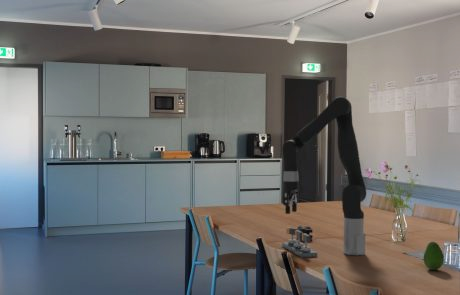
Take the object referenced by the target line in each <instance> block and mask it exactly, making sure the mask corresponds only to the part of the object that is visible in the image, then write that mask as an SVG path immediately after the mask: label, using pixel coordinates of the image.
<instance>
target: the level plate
mask: <svg viewBox="0 0 460 295" xmlns="http://www.w3.org/2000/svg"><path fill="white" fill-rule="evenodd" d="M297 243H298V241H297ZM281 247H282V248H284V249H285V250H287V249H288V250H287V251H289V250H290V251H289V252H291V253H292V252H293V254H294V253H295V254H294V255H296V256H297V255H298V257H299V258H301V259H302V258H303V259H304V258H318V252H317V251H316V250H313V249H312V248H311V251H301V248H297V247H294V244H289V243H288V241H286V242H282V243H281Z"/></svg>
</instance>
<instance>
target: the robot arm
mask: <svg viewBox="0 0 460 295" xmlns="http://www.w3.org/2000/svg"><path fill="white" fill-rule="evenodd" d="M352 112H353V107H352V103H351V101H350V100H349V99H348V98H346V97H343V96H337V97H335V98H333V99H332V101H331V102H330V103H329V104H328V105H327V106H326V107H325V108H324V109H323V111H321V113H319V114H318V115H317V116H316V117H315V118H313V119H312V121H310V122H309V123H308V124H306V125H305V126H304V127H303V128H301V129H300V130H299V131H298V132H297V133H296V135H295V136H293V137H292V138H291V139H290V140H286V141H285V142H283V144H282V149H281V151H282V158H283V179H282V180H283V183H282V184H283V190H284V191H286V192H283V198H282V200H283V201H282V203H283V206H284V207H285V209H284V210H285V215H286V214H287V215H290V214H291V212H293V213H294V212H295V213H296V212H297V211H298V209H297V205H298V203H299V201H300V200H299V197H300V196H299V182H300V181H299V162H298V160H297V153H298V152H299V151H300V150H301V149H302V148H304V147H305V145H306V144H308V143H309V142H311V141H312V140H313V139H314V138H315V137H316V136H318V134H320V133H321V132H322V131H323V130H324V128H326V127H327V126H328V124H330V123H331V122H332V121H334V120H335V121H336V126H337V142H336V143H337V151H338V155H339V156H338V157H339V160H340V161H341V164H342V166H343V168H344V170H345V173H346V175H347V180H348V182H347V183H348V184H347V185H345V187H344V188H343V189H342V193H341V203H342V207H341V208H342V213H343V254H344V255H348V256H362V255H363V256H364V255H366V234H365V233H364V231H365V229H364V228H365V226H364V223H365V220H364V219H365V213H364V211H363V210H362V209H361V206H362V205H361V202H364V200H365V199H366V197H367V188H366V185H365V180H364V177H363V174H362V173H363V172H362V168H361V161H360V154H359V147H358V142H357V138H356V133H355V129H354V125H353V114H352Z"/></svg>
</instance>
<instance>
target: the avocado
mask: <svg viewBox="0 0 460 295" xmlns="http://www.w3.org/2000/svg"><path fill="white" fill-rule="evenodd" d="M425 248H426V249H425V251H424V253H423V262H424V265H425V267H426V268H427V269H428V270H431V271H435V270H439V269H440V268H441V267H442V266H443V264H444V262H445V261H444V260H445V256H444V253H443V251H442V248H441V247H440V245H439V243H437V242H435V241H430V242H429V243H428V244H427V246H426V247H425Z"/></svg>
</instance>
